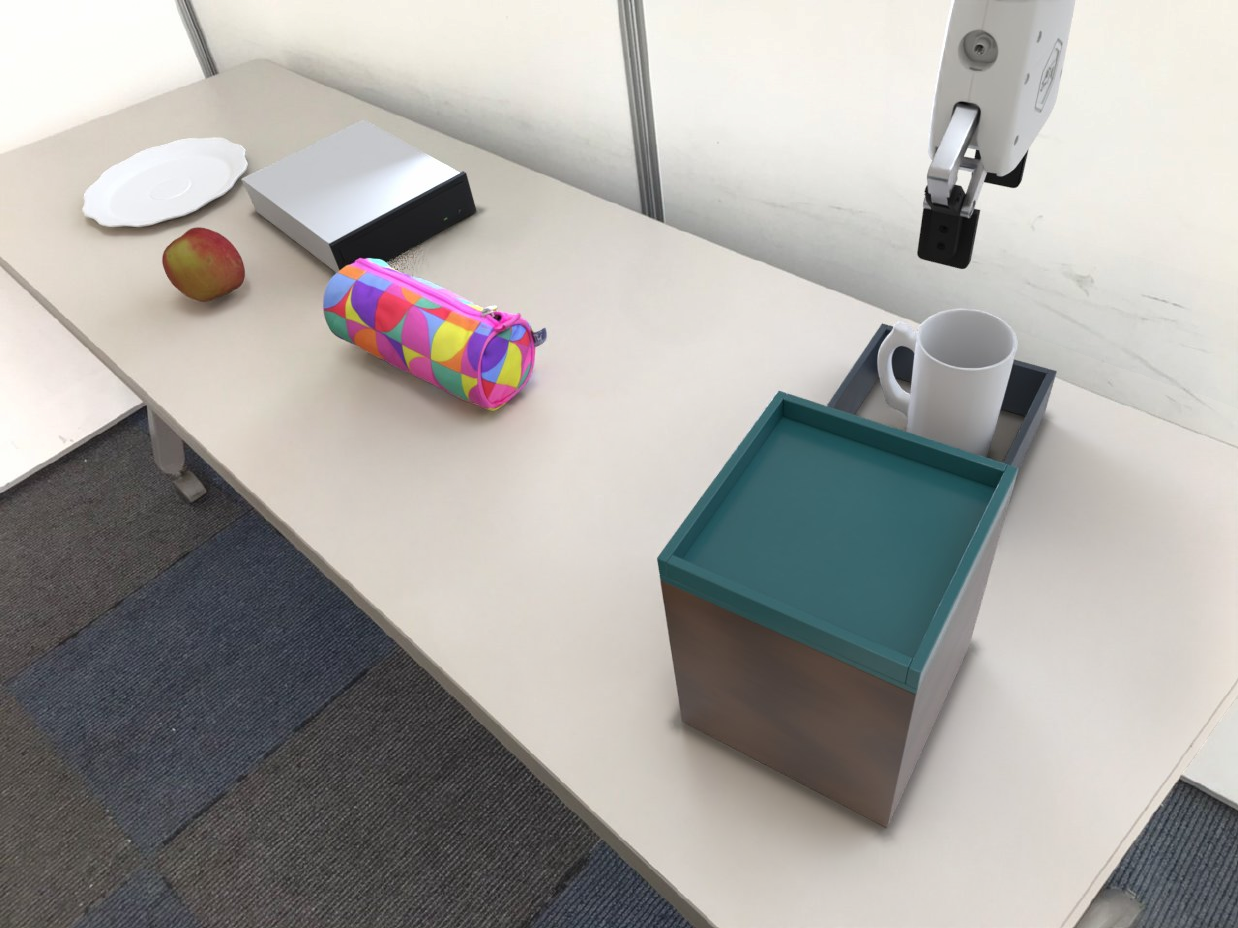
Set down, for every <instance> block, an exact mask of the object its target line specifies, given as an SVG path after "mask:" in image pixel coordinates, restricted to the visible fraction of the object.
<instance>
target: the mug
mask: <svg viewBox="0 0 1238 928" xmlns="http://www.w3.org/2000/svg"><path fill="white" fill-rule="evenodd" d="M892 326H893V329H892V331H891V332H890V333H889V335H888V336H887V337H886V338H885V340H884V341H883V343H882V344H881V346H880V349H879V352H878V373H879V377H878V378H879V381H880V384H881V388H882V392H883V395H884V399H885V403H886V405H887V406H888V407H889V408H892V409H894V410H897V411H899V412H900V413H902V414H903V415H904V416H905V417H906V419H907V420H906V427H905V429H906V430H905V431H906V432H909V433H912V434H915V435H918V436H921V437H924V438H927V439H930V440H934V441H937V442H940V443H943V444H946V445H949V446H952V447H955V448H958V449H961V450H964V451H968V452H971V453H974V454H977V455H980V456H983V457H986V458H988V455H989V452H990V449H991V445H992V443H993V439H994V435H995V431H996V426H997V425H998V424H997V423H998V421H999V420H998V419H999V416H1000V413H1001V410H1002V409H1001V405H1002V402H1003V398H1004V394H1005V391H1006V387H1007V383H1008V380H1009V376H1010V372H1011V369H1012V365H1013V361H1014V359H1015V355H1016V353H1017V351H1018V344H1019V342H1018V337H1017V334H1016V332H1015V330H1014V329H1013V327H1012V326H1011V325H1010V324H1008V323H1007V321H1005V320H1003V319H1002V318H1000V317H998V316H996V315H994V314H992V313H990V312H987V311H983V310H979V309H972V308H952V309H946V310H942V311H938V312H936V313H934V314H932V315H930V316H928V317H927V318H926V319H924V320H923V321H922V322H921V323H920V325H919V326H918V328H917V331H915V330H914V328H913V327H912V326H911V325H910V324H907V323H905V322H903V321H901V320H898V321H896V322H895V323H894V324H893V325H892ZM899 346H905V347H908V348H910V349H911V350H912V351H913V352H914V353H915V354H914V363H913V373H912V382H910V393H909V392H906V391H905V390H904V389H903V388H902V387H901V386H900V384H899V383H898V381H897V378H895V377H894V374H893V370H892V363H891V360H892V354H893V352H894V350H895V349H896V348H897V347H899Z"/></svg>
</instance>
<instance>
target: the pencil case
mask: <svg viewBox="0 0 1238 928" xmlns="http://www.w3.org/2000/svg"><path fill="white" fill-rule="evenodd" d="M498 308H499V306H498V305H489V306H486V307H481V306H479V304H476V303H474V302H472V301H470V300H467V299H466V298H464V297H462V296H460V295H458V294H457V293H454V292H453V291H452V290H451V291H450V290H448V289H447V288H444V287H442V286H440V285H438V284H436V283H433V282H431V281H430V280H426V279H423V278H420V277H416V276H413V275H412V276H411V275H410V274H408V273H404V272H401V271H399V270H397V269H395V268H393V267H392V266H390V265H389V264H388V262H384V261H383V260H380V259H371V258H366V259H362V258H359V259H357V260H355V263H353V264H350V265H347V266H345V267H344V268H342V269H341V270H340V271H338V272H337V273H336V272H335V274H334V275H332V277H331V278H330V279H329V280H328V283H327V284H326V287H325V290H324V294H323V299H322V309H323V316H324V317H323V318H324V320H325V323H326V325H327V327H328V329H329V330H330V332H331V333H332V334H333V335H334V336H335V337H337V338H338V339H340V340H343V341H345V342H347V343H349V344H352V345H354V346H357V347H359V348H360V349H362V350H363V351H364V352H367V353H368V354H370V355H372V356H374V357H376V358H379V360H383V361H385V362H387V363H388V364H390V366H393V367H396V369H399V370H401V371H404V372H406V373H409V374H411V375H412V376H414V377H415V378H418V379H420V380H423V381H425V382H428V384H431V385H433V386H436V387H437V388H439V389H441V390H443V391H445V392H447V393H448V394H450V395H452V396H454V397H456V398H458V399H460V400H462V401H465V402H467V403H469V404H471V405H472V404H473V405H477V406H479V407H480V408H482V409H485V410H487V411H492V412H493V411H497V410H499V409H501V408H502V407H503V406H504V405H506V403H508V402H509V401H510V400H512V399H513V398H514V397H516V395H517V394H518V393H519V392H521V390H523V388H524V387H525V386H526V385H527V383H528V382H529V380H530V378H531V376H532V373H533V370H534V366H535V360H536V348H537V347H540V346H541V345H543V344H544V343H545V342H547V336H548V331H547V328H546V327H543V328H542V329H540V330H538V331H534V330H533V327H532V326H531V324H530V322H529V321H527V319H525V318H524V317H522V314H521V313H520V312H518V313H516V314H514V313H510V312H505V311H500V310H499V311H497V309H498Z"/></svg>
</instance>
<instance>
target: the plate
mask: <svg viewBox="0 0 1238 928" xmlns="http://www.w3.org/2000/svg"><path fill="white" fill-rule="evenodd" d="M246 154H247V150H246V148H244V147H243V145H241V144H238V143H234V142H232V141H230V140H228V139H226V138H224V137H218V136H213V137H204V138H201V137H200V138H198V137H188V138H181V139H177V140H174V141H171V142H168V143H165V144H161V145H156V146H151V147H148V148H146V149H143V150H141V151H138V152H136V153H135V154H133V155H131V156H130V157H128V158H126V159H124V160H122V161H119V162H117V163H116V164H113V165H112V166H110V167H109V168H107V169H106V170H104V171H103V172H102V173H101V175H99V177H98V178H97V180H95V182H93V183H92V184H91V185H90V186H88V187H87V188H86V189H85V191H84V193H83V195H82V196H83V197H82V198H83V201H84V202H83V206H82V208H81V211H82V214H83V215H84V216H85V218H88V219H91V220H93V221H94V220H95V222H97V223H98V224H99V226H103V227H108V228H117V227H134V228H142V227H148V226H153V225H156V224H159V223H164V222H167V221H172V220H175V219H178V218H182V217H185V216H187V215H189V214H192V213H194V212H196V211H198V210H199V209H201V208H204V207H206V206H207V205H208V204H210V203H211V202H213V201H214V200H217V199H218V198H220V197H222V196H224V195H225V194H226V193H228V192H229V191H230V190H231V189H233V187H234V185H236V182H237V180H238V179H239V178H240V177H242V175H243V174H244V173H245V172H246V171H247V169H248V166H249V163H248V161H247V159H246Z"/></svg>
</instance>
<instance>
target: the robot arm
mask: <svg viewBox="0 0 1238 928" xmlns="http://www.w3.org/2000/svg"><path fill="white" fill-rule="evenodd" d="M1075 5H1076V0H951V5H950V8H949V13H948V17H947V22H946V24H945V32H944V38H943V43H942V49H941V53H940V59H939V63H938V64H939V65H938V71H937V75H936V81H935V88H934V92H933V94H934V95H933V99H932V100H933V101H932V107H931V115H930V121H929V130H928V131H929V132H928V143H927V144H928V146H927V153H928V156H929V158H930V160H931V162H930V165H929V167H928V170H927V173H926V186H925V188H924V191H923V192H924V194H923V195H924V198H923V201H922V215H921V216H922V217H921V221H920V222H921V223H920V229H919V237H918V238H919V239H918V243H917V251H916V256H917V257H918V258H919V259H920V260H923V261H926V262H931V263H935V264H939V265H943V266H946V267H952V268H954V269H959V270H965V269H967V268H968V267H969V265H970V264H971V261H972V257H973V250H974V246H975V240H976V236H977V230H978V224H979V220H980V214H981V209H978V208H976V205H977V203H978V200H979V197H980V194H981V191H982V188H983V185H984V183H986V184H990V185H996V186H1000V187H1004V188H1005V187H1006V188H1008V189H1009V188H1010V189H1016V188H1018V187H1019V186H1020V184H1021V183H1022V181H1023V177H1024V172H1025V168H1026V163H1027V159H1028V154H1029V150H1030V148H1031V146H1032V145H1033V143H1034V142H1035V140H1036V138H1037V137H1038V135H1039V133H1041V130H1042V129H1043V127H1045V124H1046V122H1047V121H1048V120H1049V118H1050V116H1051V115H1052V112H1053V110H1054V108H1055V105H1056V102H1057V98H1058V95H1059V90H1060V86H1061V85H1060V84H1061V81H1062V80H1061V79H1062V75H1063V69H1064V64H1065V59H1066V53H1067V49H1068V42H1069V36H1070V32H1071V27H1072V23H1073V22H1072V21H1073V18H1074V17H1073V16H1074V11H1075ZM968 149H971V150H975V153H974V157H969V156H965V155H966V153H967V150H968ZM959 171H965V172H968V173H969V172H970V173H971V178H970V180H969V183H968V186H967V189H966V191H965V190H964V188H963V187H962V185H959V184H957V182H958V180H959V179H958V174H959Z"/></svg>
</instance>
